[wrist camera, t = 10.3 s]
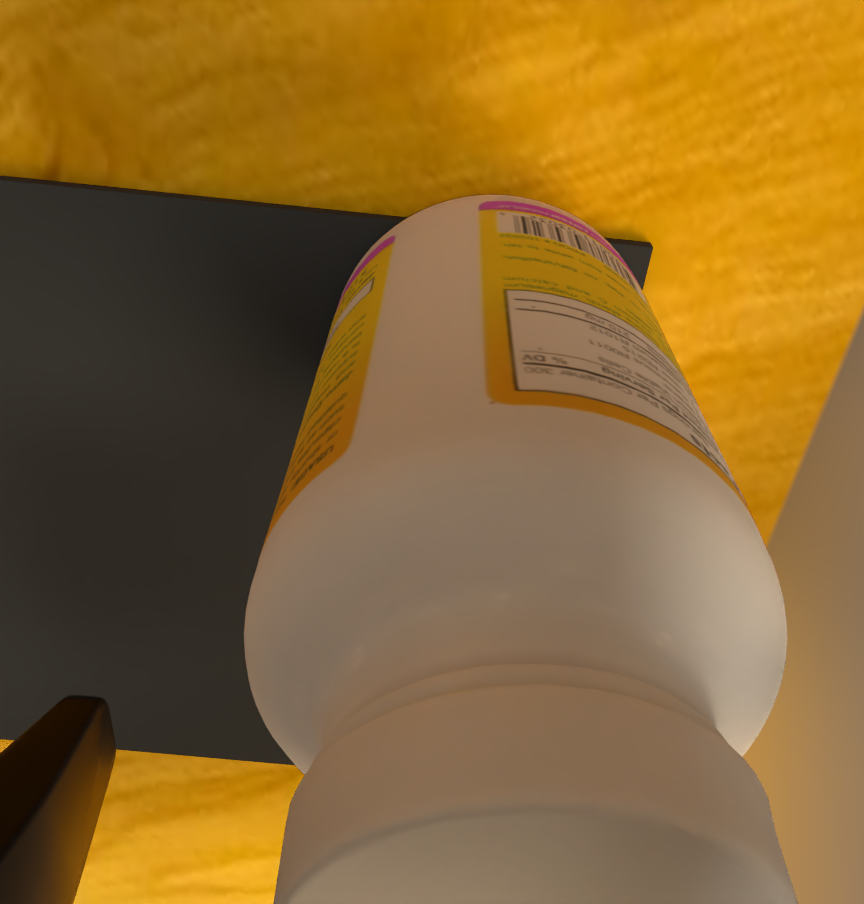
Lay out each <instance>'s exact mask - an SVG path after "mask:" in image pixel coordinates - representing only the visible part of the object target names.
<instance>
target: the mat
mask: <svg viewBox="0 0 864 904" xmlns="http://www.w3.org/2000/svg"><path fill="white" fill-rule="evenodd" d="M405 219H407V217H397V216H388V215H378V214H368V213H359V212H349V211H339V210H329V209H320V208H310V207H300V206H291V205H281V204H271V203H261V202H252V201H242V200H232V199H223V198H213V197H203V196H194V195H184V194H174V193H164V192H155V191H145V190H135V189H126V188H116V187H106V186H96V185H87V184H77V183H67V182H58V181H48V180H38V179H29V178H19V177H9V176H0V739H6V740H16V739H17V738H18V737H19V736H20V735H22V734H23V733H24V732H25V731H26V730H27V729H28V728H29V727H31V726H32V725H33V724H34V723H35V722H36V721H37V720H39V719H40V718H41V717H42V716H43V715H44V714H45V713H47V712H48V711H49V710H50V709H51V708H52V707H53V706H54V705H56V704H57V703H58V702H59V701H60V700H62V699H63V698H65V697H67V696H69V695H85V696H96V697H102V698H104V699H105V700H106V701H107V703H108V706H109V711H110V716H111V721H112V727H113V732H114V738H115V744H116V749H118V750H130V751H141V752H152V753H163V754H175V755H186V756H197V757H208V758H220V759H231V760H242V761H253V762H265V763H276V764H287V765H295V764H294V763H293V762H292V761H291V760H290V758H289V757H288V756H287V755H286V753H285V752H284V751H283V750H282V748H281V747H280V746H279V745H278V743H277V742H276V741H275V740H274V738H273V737H272V735H271V733H270V732H269V730H268V728H267V727H266V725H265V723H264V721H263V719H262V717H261V715H260V712H259V710H258V708H257V706H256V704H255V700H254V697H253V694H252V691H251V687H250V683H249V679H248V672H247V666H246V659H245V646H244V627H245V615H246V607H247V602H248V598H249V593H250V588H251V585H252V581H253V578H254V575H255V572H256V568H257V565H258V561H259V557H260V554H261V551H262V548H263V545H264V542H265V539H266V536H267V533H268V530H269V526H270V523H271V520H272V517H273V514H274V511H275V508H276V505H277V501H278V498H279V495H280V492H281V489H282V486H283V482H284V479H285V476H286V473H287V470H288V466H289V463H290V460H291V457H292V453H293V450H294V446H295V443H296V439H297V436H298V433H299V430H300V427H301V424H302V420H303V417H304V414H305V410H306V407H307V403H308V400H309V397H310V394H311V391H312V388H313V384H314V381H315V377H316V374H317V370H318V367H319V365H320V361H321V358H322V355H323V351H324V348H325V345H326V342H327V338H328V334H329V331H330V328H331V325H332V322H333V318H334V316H335V313H336V310H337V307H338V304H339V301H340V298H341V296H342V293H343V291H344V289H345V286H346V284H347V282H348V280H349V278H350V277H351V275H352V273H353V271H354V270H355V268H356V266H357V265H358V263H359V262H360V261H361V259H362V258H363V257H364V255H365V254H366V253H367V252H368V251H369V249H370V248H371V247H372V246H373V245H374V244H375V243H376V242H377V241H378V240H379V239H380V238H381V237H382V236H383V235H385V234H386V233H387V232H388V231H390V230H391V229H392V228H393V227H395V226H396V225H398V224H399V223H400V222H402V221H403V220H405ZM605 239H606V240H607V241H608V242H609V243H610V244H611V245H612V247H613V248H614V249H615V250H616V251H617V252H618V253H619V255H620V256H621V258H622V259H623V260H624V262H625V263H626V265H627V266H628V267H629V269H630V270H631V272H632V273H633V275H634V277H635V278H636V280H637V282H638V284H639V285H640V287H641V289H642V290H643V286H644V282H645V278H646V274H647V270H648V266H649V262H650V258H651V253H652V249H653V247H652V245H651V243H649V242H640V241H630V240H621V239H611V238H605Z"/></svg>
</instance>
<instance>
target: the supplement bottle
mask: <svg viewBox="0 0 864 904" xmlns="http://www.w3.org/2000/svg"><path fill="white" fill-rule="evenodd" d="M244 646H245V659H246V666H247V672H248V679H249V683H250V687H251V691H252V694H253V697H254V700H255V704H256V706H257V708H258V710H259V712H260V715H261V717H262V719H263V721H264V723H265V725H266V727H267V728H268V730H269V732H270V733H271V735H272V737H273V738H274V740H275V741H276V742H277V743H278V745H279V746H280V747H281V748H282V750H283V751H284V752H285V753H286V755H287V756H288V757H289V758H290V760H291V761H292V762H293V763H294V764H295V765H296V767H297V768H298V769H299V770H300V771H301V772H302V773H303V774H304V775H305V776H304V777H303V779H302V781H301V782H300V784H299V786H298V788H297V790H296V791H295V793H294V796H293V798H292V800H291V803H290V807H289V812H288V817H287V821H286V827H285V833H284V840H283V846H282V852H281V859H280V865H279V871H278V878H277V884H276V891H275V898H274V904H798V902H797V898H796V895H795V892H794V889H793V886H792V883H791V880H790V877H789V873H788V870H787V867H786V864H785V861H784V858H783V855H782V851H781V848H780V845H779V842H778V838H777V835H776V832H775V827H774V823H773V819H772V814H771V810H770V806H769V801H768V797H767V795H766V793H765V790H764V788H763V786H762V784H761V783H760V781H759V779H758V777H757V775H756V774H755V772H754V771H753V769H752V768H751V767H750V766H749V764H748V763H747V762H746V761H745V760H744V759H743V757H742V756H743V755H744V754H745V753H746V751H747V750H748V749H749V747H750V746H751V744H752V743H753V741H754V740H755V739H756V737H757V736H758V734H759V733H760V731H761V729H762V727H763V726H764V724H765V722H766V720H767V718H768V716H769V714H770V712H771V709H772V707H773V704H774V702H775V699H776V697H777V694H778V691H779V688H780V685H781V681H782V676H783V671H784V667H785V662H786V651H787V625H786V614H785V608H784V600H783V595H782V592H781V588H780V584H779V580H778V576H777V573H776V571H775V568H774V565H773V562H772V560H771V558H770V556H769V553H768V551H767V549H766V546H765V544H764V542H763V540H762V537H761V535H760V533H759V530H758V528H757V526H756V523H755V521H754V519H753V517H752V515H751V513H750V511H749V509H748V507H747V504H746V502H745V500H744V498H743V495H742V493H741V492H740V490H739V488H738V487H737V485H736V483H735V480H734V478H733V476H732V474H731V472H730V470H729V468H728V466H727V464H726V462H725V460H724V458H723V456H722V454H721V452H720V450H719V448H718V446H717V444H716V442H715V440H714V438H713V436H712V434H711V432H710V430H709V427H708V425H707V423H706V421H705V419H704V417H703V415H702V413H701V411H700V409H699V406H698V404H697V402H696V400H695V398H694V396H693V394H692V392H691V389H690V387H689V385H688V383H687V381H686V379H685V377H684V375H683V373H682V371H681V369H680V367H679V365H678V363H677V361H676V359H675V357H674V355H673V353H672V351H671V348H670V346H669V344H668V342H667V340H666V338H665V336H664V334H663V332H662V330H661V328H660V326H659V324H658V322H657V320H656V318H655V316H654V314H653V312H652V310H651V307H650V305H649V303H648V301H647V299H646V297H645V295H644V293H643V291H642V289H641V287H640V285H639V284H638V282H637V280H636V278H635V277H634V275H633V273H632V272H631V270H630V269H629V267H628V266H627V265H626V263H625V262H624V260H623V259H622V258H621V256H620V255H619V253H618V252H617V251H616V250H615V249H614V248H613V247H612V245H611V244H610V243H609V242H608V241H607V240H606V239H605V238H603V237H602V236H601V235H600V234H599V233H598V232H597V231H596V230H595V229H594V228H592V227H591V226H589V225H588V224H587V223H585V222H584V221H582V220H581V219H579V218H577V217H576V216H574V215H572V214H570V213H568V212H566V211H564V210H562V209H559V208H557V207H555V206H552V205H549V204H546V203H543V202H540V201H537V200H533V199H528V198H523V197H518V196H510V195H475V196H468V197H462V198H457V199H453V200H448V201H445V202H442V203H439V204H436V205H433V206H431V207H428V208H426V209H424V210H422V211H420V212H418V213H416V214H414V215H412V216H410V217H408V218H407V219H405V220H403V221H402V222H400V223H399V224H398V225H396V226H395V227H393V228H392V229H391V230H390V231H388V232H387V233H386V234H385V235H383V236H382V237H381V238H380V239H379V240H378V241H377V242H376V243H375V244H374V245H373V246H372V247H371V248H370V249H369V251H368V252H367V253H366V254H365V255H364V257H363V258H362V259H361V261H360V262H359V263H358V265H357V266H356V268H355V270H354V271H353V273H352V275H351V277H350V278H349V280H348V282H347V284H346V286H345V289H344V291H343V293H342V296H341V298H340V301H339V304H338V307H337V310H336V313H335V316H334V318H333V322H332V325H331V328H330V331H329V334H328V338H327V342H326V345H325V348H324V351H323V355H322V358H321V361H320V365H319V367H318V370H317V374H316V377H315V381H314V384H313V388H312V391H311V394H310V397H309V400H308V403H307V407H306V410H305V414H304V417H303V420H302V424H301V427H300V430H299V433H298V436H297V439H296V443H295V446H294V450H293V453H292V457H291V460H290V463H289V466H288V470H287V473H286V476H285V479H284V482H283V486H282V489H281V492H280V495H279V498H278V501H277V505H276V508H275V511H274V514H273V517H272V520H271V523H270V526H269V530H268V533H267V536H266V539H265V542H264V545H263V548H262V551H261V554H260V557H259V561H258V565H257V568H256V572H255V575H254V578H253V581H252V585H251V588H250V593H249V598H248V602H247V607H246V615H245V627H244Z"/></svg>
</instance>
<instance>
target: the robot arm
mask: <svg viewBox="0 0 864 904" xmlns="http://www.w3.org/2000/svg"><path fill="white" fill-rule="evenodd" d="M115 753H116V744H115V738H114V732H113V727H112V721H111V716H110V711H109V706H108V703H107V701H106V700H105V699H104V698H102V697H96V696H85V695H69V696H67V697H65V698H63V699H62V700H60V701H59V702H58V703H57V704H56V705H54V706H53V707H52V708H51V709H50V710H49V711H48V712H47V713H45V714H44V715H43V716H42V717H41V718H40V719H39V720H37V721H36V722H35V723H34V724H33V725H32V726H31V727H29V728H28V729H27V730H26V731H25V732H24V733H23V734H22V735H20V736H19V737H18V738H17V739H16V740H15V741H14V742H12V743H11V744H10V745H9V746H8V747H7V748H6V749H4V750H3V751H2V752H1V753H0V904H73V902H74V899H75V896H76V892H77V889H78V886H79V883H80V879H81V876H82V872H83V869H84V866H85V862H86V859H87V855H88V852H89V848H90V845H91V841H92V838H93V834H94V831H95V827H96V824H97V821H98V817H99V814H100V810H101V807H102V803H103V800H104V796H105V793H106V789H107V786H108V782H109V779H110V776H111V772H112V769H113V765H114V760H115Z"/></svg>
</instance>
